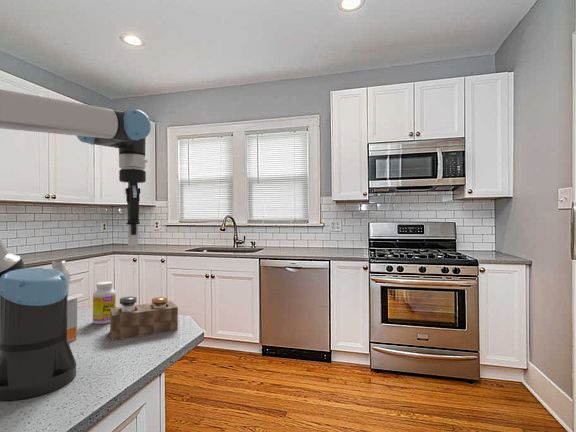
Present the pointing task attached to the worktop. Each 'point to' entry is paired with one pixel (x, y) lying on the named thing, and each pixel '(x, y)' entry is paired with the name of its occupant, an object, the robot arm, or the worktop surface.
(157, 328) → the walnut block
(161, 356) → the worktop surface
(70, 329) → the skincare box
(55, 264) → the plastic bottle
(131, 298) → the charcoal plunger
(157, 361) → the worktop surface
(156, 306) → the rust plunger
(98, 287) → the supplement bottle
